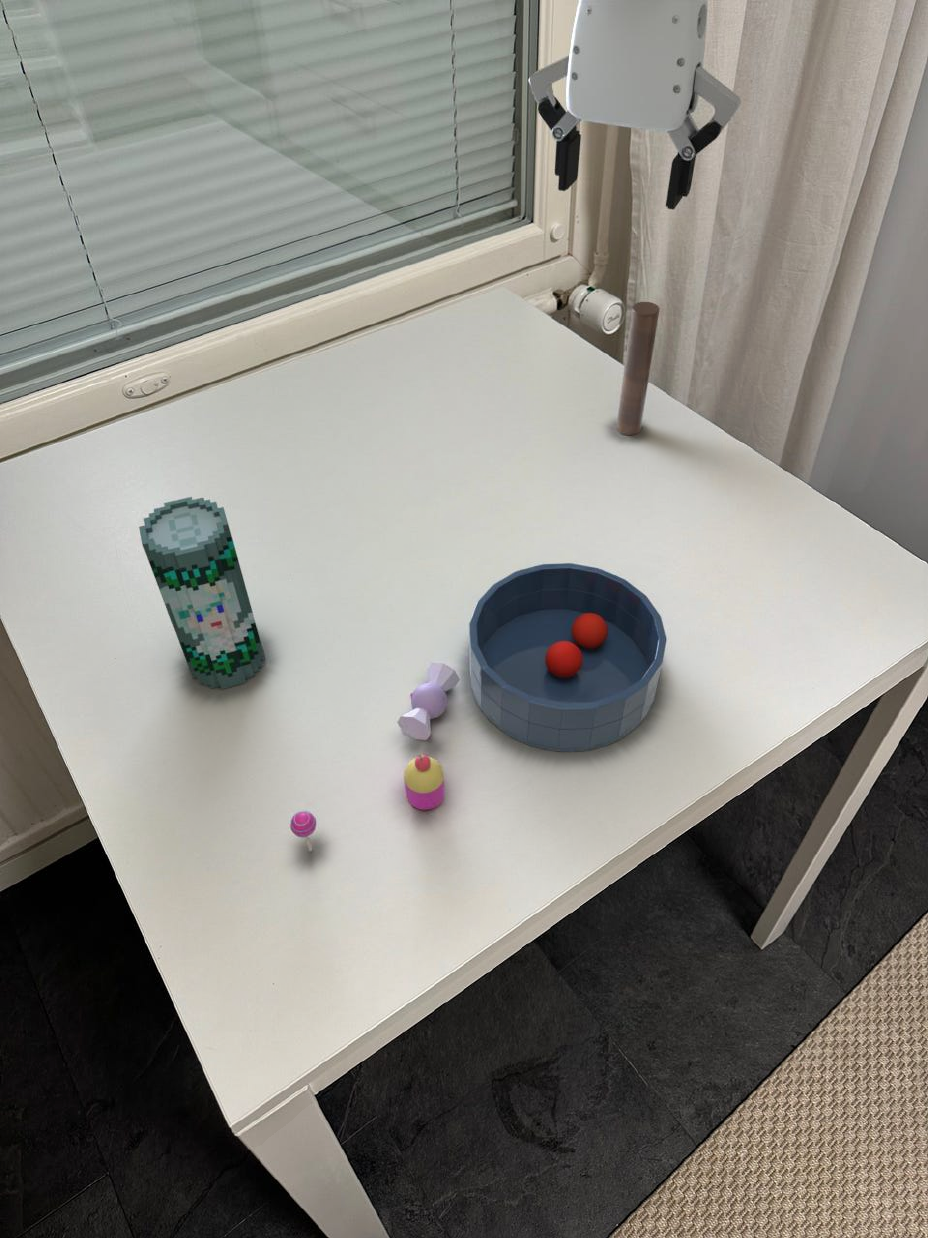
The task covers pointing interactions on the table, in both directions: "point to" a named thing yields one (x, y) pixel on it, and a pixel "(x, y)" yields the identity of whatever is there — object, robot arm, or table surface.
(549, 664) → the tomato
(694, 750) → the table surface
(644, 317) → the stick
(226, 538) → the can
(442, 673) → the candy
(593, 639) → the tomato
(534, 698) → the bowl
